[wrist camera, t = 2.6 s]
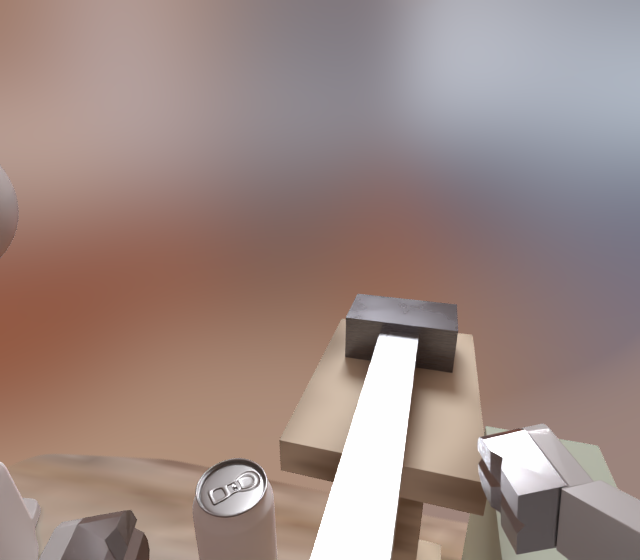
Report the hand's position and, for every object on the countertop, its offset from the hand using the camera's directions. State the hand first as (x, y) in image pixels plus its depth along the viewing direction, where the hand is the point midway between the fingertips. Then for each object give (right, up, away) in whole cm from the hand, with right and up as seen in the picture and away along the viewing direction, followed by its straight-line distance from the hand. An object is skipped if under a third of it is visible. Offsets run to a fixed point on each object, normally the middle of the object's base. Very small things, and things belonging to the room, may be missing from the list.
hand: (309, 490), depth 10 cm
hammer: (+3, -4, +11) cm, 12 cm away
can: (-7, -23, +28) cm, 37 cm away
